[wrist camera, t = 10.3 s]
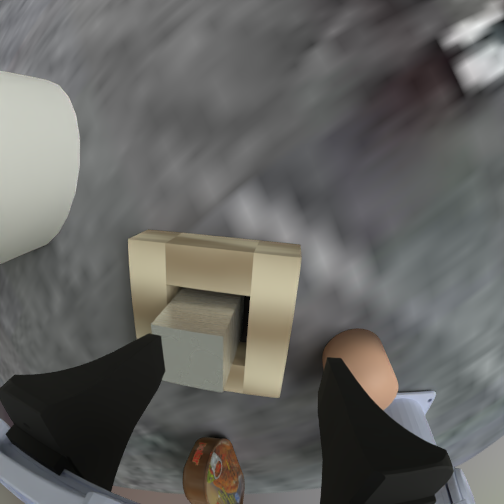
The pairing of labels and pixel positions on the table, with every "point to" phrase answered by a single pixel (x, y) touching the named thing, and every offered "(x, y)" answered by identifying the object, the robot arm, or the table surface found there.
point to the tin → (213, 473)
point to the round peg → (365, 363)
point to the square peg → (200, 337)
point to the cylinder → (35, 162)
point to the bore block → (226, 281)
